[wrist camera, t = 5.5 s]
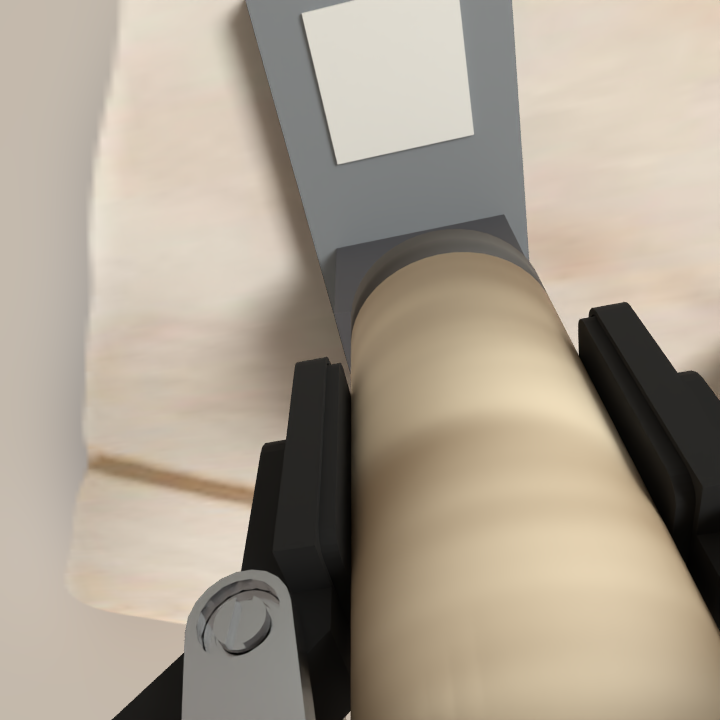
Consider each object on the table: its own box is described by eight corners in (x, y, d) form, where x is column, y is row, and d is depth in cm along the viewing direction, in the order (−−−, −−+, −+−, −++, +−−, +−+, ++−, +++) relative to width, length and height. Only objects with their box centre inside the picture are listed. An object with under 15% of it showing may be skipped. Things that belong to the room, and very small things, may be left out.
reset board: (530, 361, 37) (566, 453, 30) (359, 391, 38) (361, 486, 32) (499, -72, 24) (548, -62, 18) (249, -9, 26) (218, 21, 20)
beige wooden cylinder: (548, 377, 14) (818, 1015, 6) (372, 408, 15) (397, 1040, 6) (539, 209, 12) (950, 865, 4) (331, 252, 12) (291, 919, 4)
